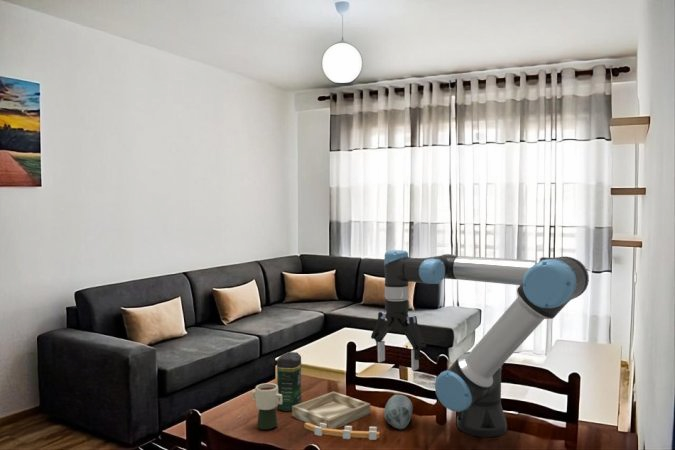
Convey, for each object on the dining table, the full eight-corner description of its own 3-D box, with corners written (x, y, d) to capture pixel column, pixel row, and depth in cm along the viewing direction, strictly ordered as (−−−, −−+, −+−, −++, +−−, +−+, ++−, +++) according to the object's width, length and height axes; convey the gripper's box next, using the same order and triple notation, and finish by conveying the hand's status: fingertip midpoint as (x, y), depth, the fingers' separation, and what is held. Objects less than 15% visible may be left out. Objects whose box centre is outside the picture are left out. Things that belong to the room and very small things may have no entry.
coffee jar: (297, 412, 181) (296, 358, 180) (274, 411, 182) (273, 357, 182) (304, 402, 190) (303, 350, 190) (282, 401, 192) (282, 349, 191)
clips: (378, 434, 163) (378, 426, 163) (376, 441, 158) (375, 433, 158) (317, 429, 167) (317, 422, 167) (313, 436, 162) (313, 428, 162)
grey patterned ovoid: (416, 423, 163) (401, 392, 166) (388, 436, 164) (374, 404, 167) (422, 417, 176) (408, 388, 179) (396, 429, 177) (383, 400, 180)
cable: (380, 436, 162) (380, 431, 162) (377, 441, 158) (377, 437, 158) (305, 426, 170) (305, 422, 169) (301, 431, 166) (301, 427, 166)
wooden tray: (370, 414, 179) (370, 403, 179) (328, 431, 165) (328, 420, 165) (333, 401, 191) (333, 391, 191) (292, 416, 177) (291, 406, 177)
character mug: (288, 425, 171) (287, 385, 170) (277, 434, 164) (276, 392, 163) (258, 420, 175) (257, 381, 174) (246, 429, 168) (245, 388, 168)
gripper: (436, 301, 164) (437, 370, 165) (374, 293, 182) (375, 355, 183) (422, 305, 159) (423, 375, 160) (359, 296, 177) (360, 360, 177)
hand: (397, 365), depth 171 cm, fingers open, 13 cm apart
